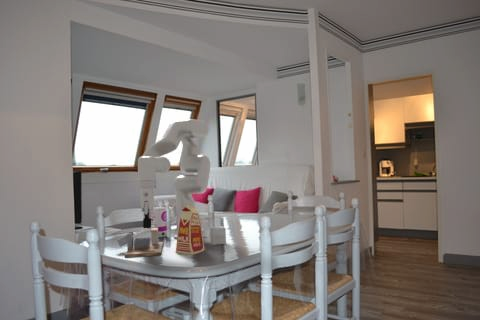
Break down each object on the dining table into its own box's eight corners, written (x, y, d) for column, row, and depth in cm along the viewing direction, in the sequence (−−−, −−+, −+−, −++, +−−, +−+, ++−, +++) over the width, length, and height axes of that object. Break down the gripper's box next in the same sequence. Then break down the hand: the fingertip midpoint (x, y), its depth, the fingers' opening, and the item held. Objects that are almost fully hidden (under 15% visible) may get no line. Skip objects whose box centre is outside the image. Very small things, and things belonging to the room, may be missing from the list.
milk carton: (192, 254, 151) (190, 204, 151) (174, 252, 156) (173, 204, 156) (206, 250, 158) (204, 202, 159) (189, 248, 163) (187, 202, 164)
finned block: (150, 245, 166) (149, 237, 166) (148, 249, 159) (148, 240, 159) (136, 246, 165) (135, 238, 165) (134, 250, 158) (133, 240, 158)
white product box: (170, 235, 200) (169, 206, 200) (161, 238, 192) (161, 208, 192) (156, 234, 202) (155, 206, 203) (148, 237, 194) (147, 208, 195)
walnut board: (163, 244, 174) (163, 241, 174) (160, 255, 152) (160, 252, 152) (131, 246, 172) (131, 243, 172) (124, 257, 149) (124, 254, 149)
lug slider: (158, 243, 171) (157, 227, 171) (157, 245, 165) (157, 229, 165) (152, 243, 171) (151, 228, 171) (151, 246, 164) (150, 230, 165)
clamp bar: (156, 229, 164) (152, 222, 164) (155, 230, 161) (152, 223, 161) (121, 245, 162) (118, 238, 162) (120, 246, 159) (117, 240, 159)
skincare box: (222, 241, 177) (222, 226, 177) (226, 244, 171) (225, 227, 171) (210, 242, 175) (209, 226, 175) (213, 245, 169) (212, 228, 169)
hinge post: (133, 247, 164) (133, 231, 164) (131, 249, 158) (131, 233, 159) (129, 247, 163) (128, 231, 164) (127, 250, 158) (127, 233, 158)
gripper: (154, 184, 156) (155, 229, 155) (156, 184, 170) (157, 225, 169) (136, 185, 155) (136, 230, 153) (139, 185, 169) (140, 226, 168)
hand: (147, 227), depth 161 cm, fingers closed
